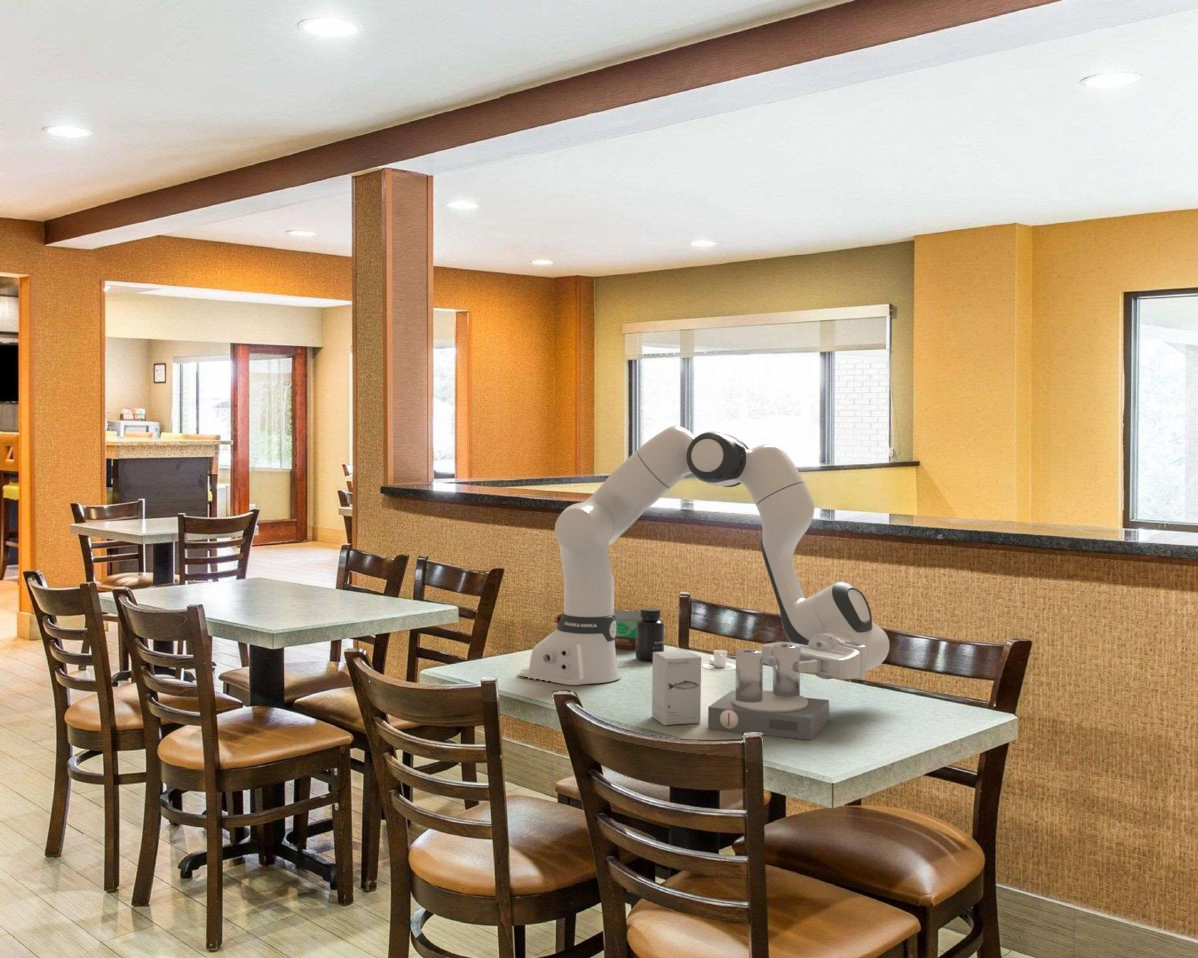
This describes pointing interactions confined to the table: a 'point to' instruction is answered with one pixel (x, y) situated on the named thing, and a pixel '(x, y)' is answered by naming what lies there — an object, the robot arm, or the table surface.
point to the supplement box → (676, 687)
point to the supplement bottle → (649, 634)
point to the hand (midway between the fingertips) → (783, 664)
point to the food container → (626, 629)
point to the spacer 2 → (786, 670)
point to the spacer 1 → (749, 675)
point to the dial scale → (770, 715)
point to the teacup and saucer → (719, 660)
